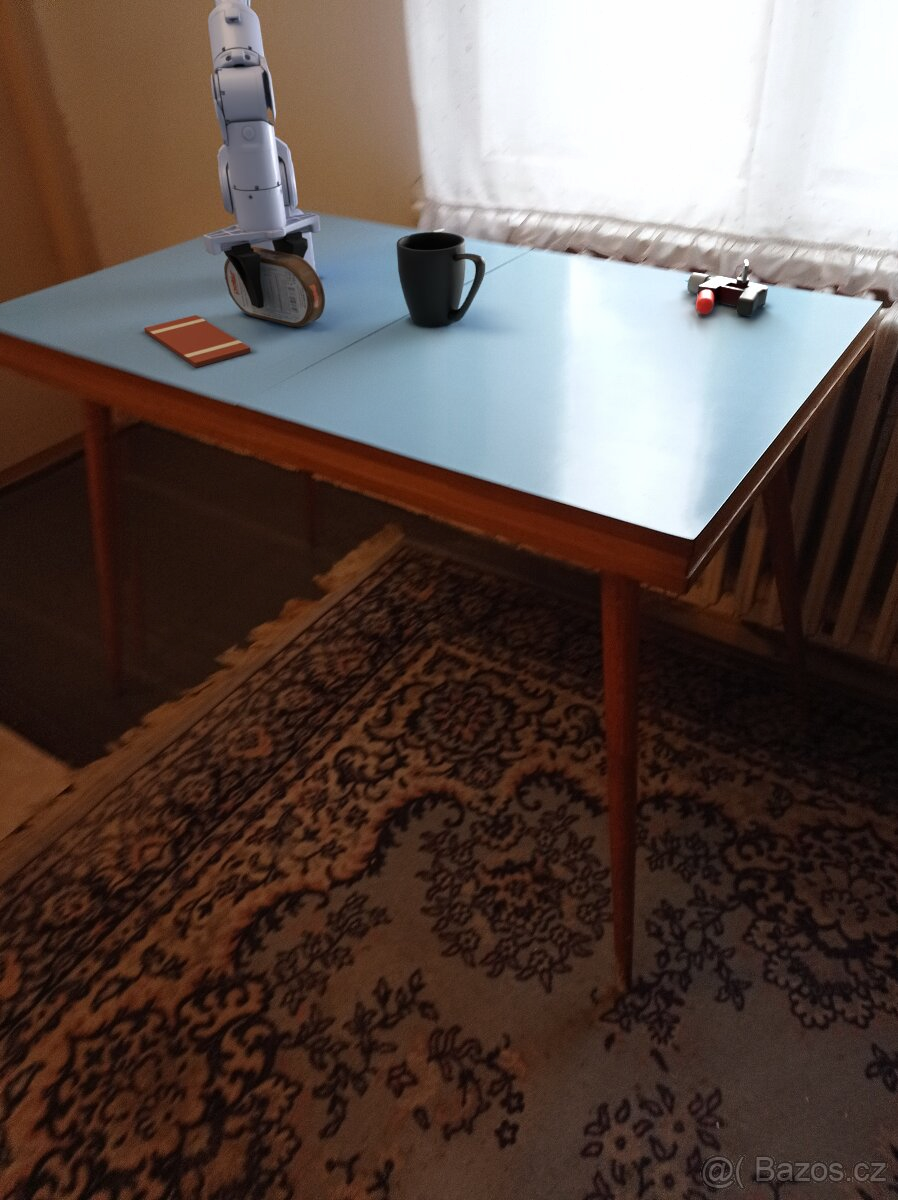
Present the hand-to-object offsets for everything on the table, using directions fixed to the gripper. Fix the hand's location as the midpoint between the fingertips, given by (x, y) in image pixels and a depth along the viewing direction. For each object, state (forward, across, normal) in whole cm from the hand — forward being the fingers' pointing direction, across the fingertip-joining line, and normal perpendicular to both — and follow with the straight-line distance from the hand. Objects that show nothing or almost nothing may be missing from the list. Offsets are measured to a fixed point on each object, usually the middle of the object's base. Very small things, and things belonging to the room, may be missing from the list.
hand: (273, 301), depth 114 cm
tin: (+3, 0, 0) cm, 3 cm away
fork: (+3, +31, +7) cm, 31 cm away
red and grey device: (+3, +44, -33) cm, 55 cm away
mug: (+3, +16, -15) cm, 22 cm away
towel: (+2, -11, 0) cm, 11 cm away
